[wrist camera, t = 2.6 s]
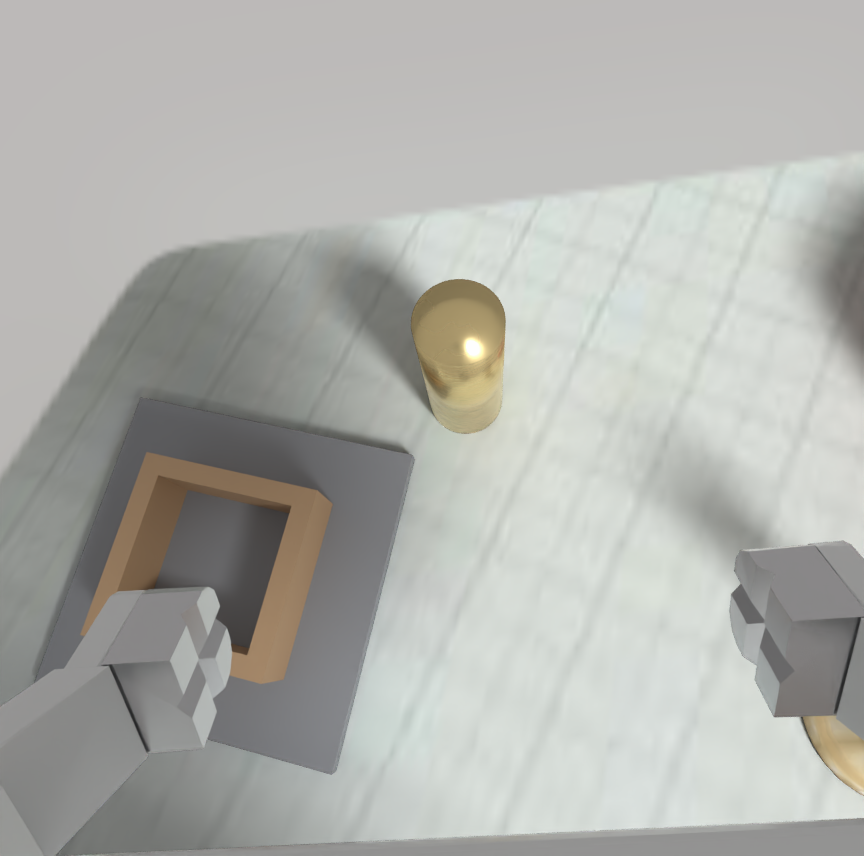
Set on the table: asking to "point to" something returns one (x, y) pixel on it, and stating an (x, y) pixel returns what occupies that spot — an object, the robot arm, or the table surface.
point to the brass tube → (461, 353)
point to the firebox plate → (251, 563)
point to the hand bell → (838, 749)
